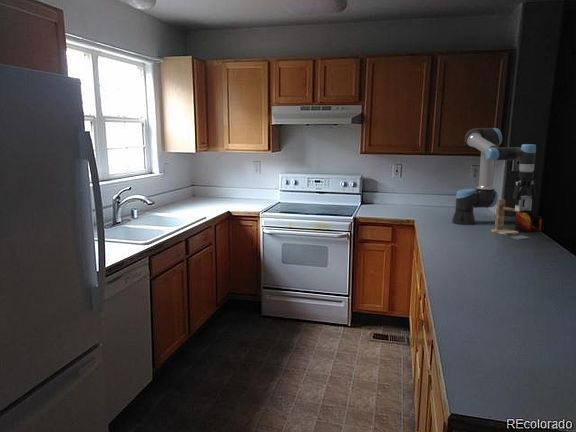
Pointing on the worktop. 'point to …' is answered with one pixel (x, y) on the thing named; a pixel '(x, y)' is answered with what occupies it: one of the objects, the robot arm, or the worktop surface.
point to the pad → (520, 237)
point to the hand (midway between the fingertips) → (522, 210)
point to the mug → (526, 221)
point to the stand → (502, 219)
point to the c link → (527, 203)
